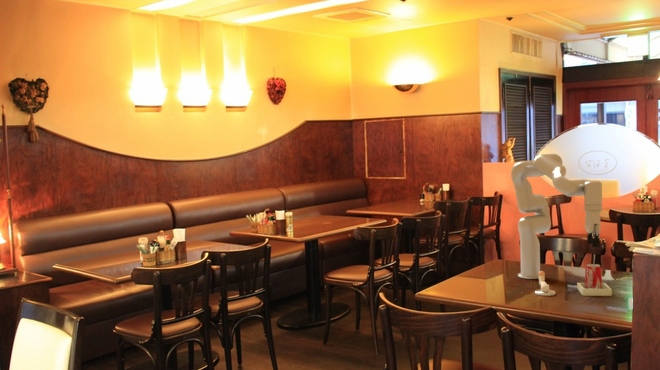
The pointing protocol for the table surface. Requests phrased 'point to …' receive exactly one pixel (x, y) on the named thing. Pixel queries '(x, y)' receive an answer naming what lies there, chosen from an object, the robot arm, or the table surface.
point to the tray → (594, 290)
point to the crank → (543, 282)
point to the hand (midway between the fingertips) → (593, 245)
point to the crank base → (544, 293)
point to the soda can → (593, 276)
